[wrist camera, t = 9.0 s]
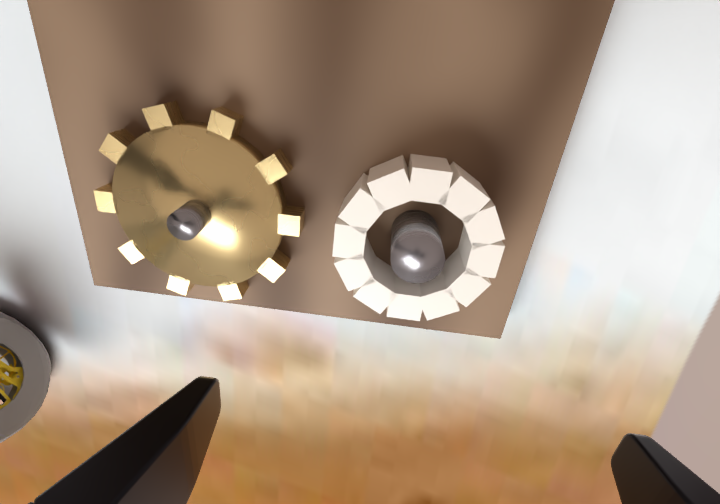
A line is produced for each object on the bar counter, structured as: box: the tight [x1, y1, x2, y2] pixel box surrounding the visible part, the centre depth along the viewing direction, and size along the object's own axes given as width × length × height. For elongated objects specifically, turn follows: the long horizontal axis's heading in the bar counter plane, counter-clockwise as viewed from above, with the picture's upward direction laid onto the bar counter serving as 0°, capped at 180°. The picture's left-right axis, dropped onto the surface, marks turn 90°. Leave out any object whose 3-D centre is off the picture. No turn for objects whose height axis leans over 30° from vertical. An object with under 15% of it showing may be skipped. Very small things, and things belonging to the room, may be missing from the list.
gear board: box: [27, 0, 615, 339], centre depth 16 cm, size 20×18×2 cm
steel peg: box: [391, 210, 445, 283], centre depth 16 cm, size 2×2×3 cm
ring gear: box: [332, 154, 505, 321], centre depth 16 cm, size 6×6×2 cm
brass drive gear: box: [93, 101, 305, 301], centre depth 16 cm, size 8×8×2 cm
